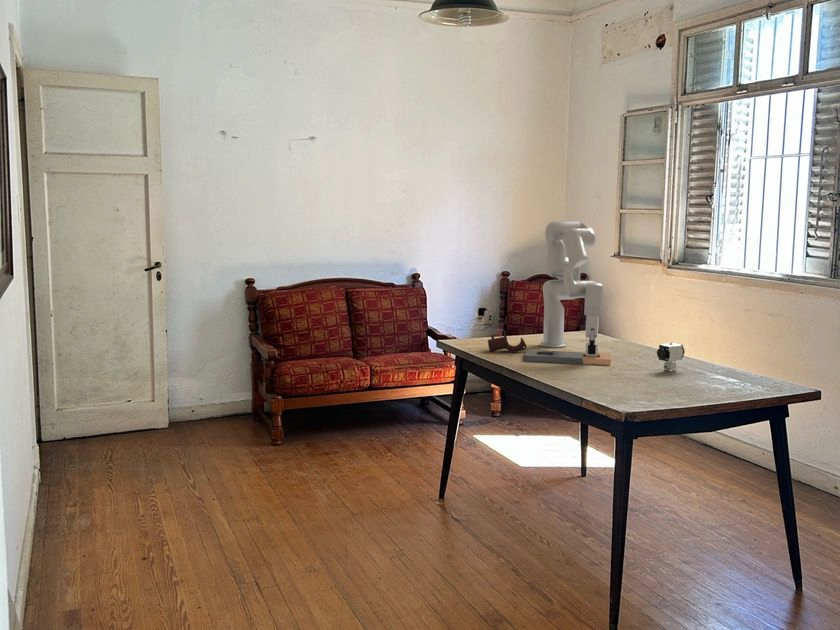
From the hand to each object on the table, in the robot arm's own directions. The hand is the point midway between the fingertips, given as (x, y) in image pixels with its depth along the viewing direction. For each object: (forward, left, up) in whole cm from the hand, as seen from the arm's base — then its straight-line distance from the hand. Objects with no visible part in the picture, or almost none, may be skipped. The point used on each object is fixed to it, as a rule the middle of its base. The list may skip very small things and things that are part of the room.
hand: (591, 352), depth 350 cm
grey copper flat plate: (0, -10, -4) cm, 11 cm away
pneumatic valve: (+12, +32, -4) cm, 34 cm away
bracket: (-13, -38, -4) cm, 41 cm away
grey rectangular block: (0, 0, -3) cm, 3 cm away
